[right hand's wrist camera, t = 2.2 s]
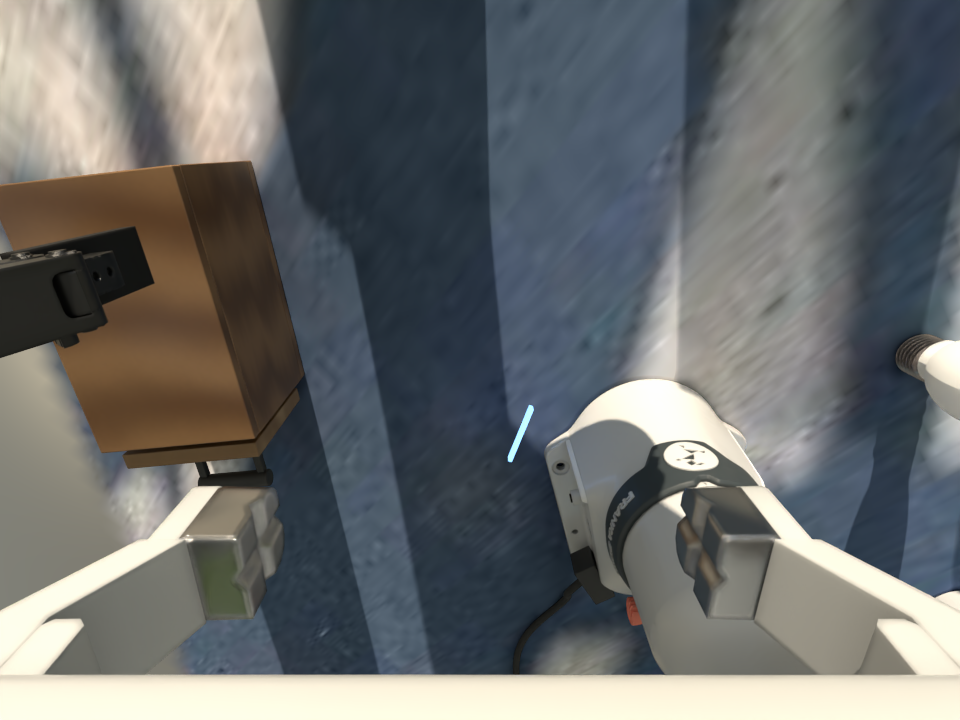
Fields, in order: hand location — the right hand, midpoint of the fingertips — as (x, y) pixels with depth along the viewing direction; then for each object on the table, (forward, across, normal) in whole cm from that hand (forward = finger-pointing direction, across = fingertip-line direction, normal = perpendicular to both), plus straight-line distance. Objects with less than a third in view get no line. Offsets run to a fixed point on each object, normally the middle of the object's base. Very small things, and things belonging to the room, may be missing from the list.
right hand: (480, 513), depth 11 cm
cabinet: (+35, -22, -3) cm, 42 cm away
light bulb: (+35, +39, -10) cm, 53 cm away
